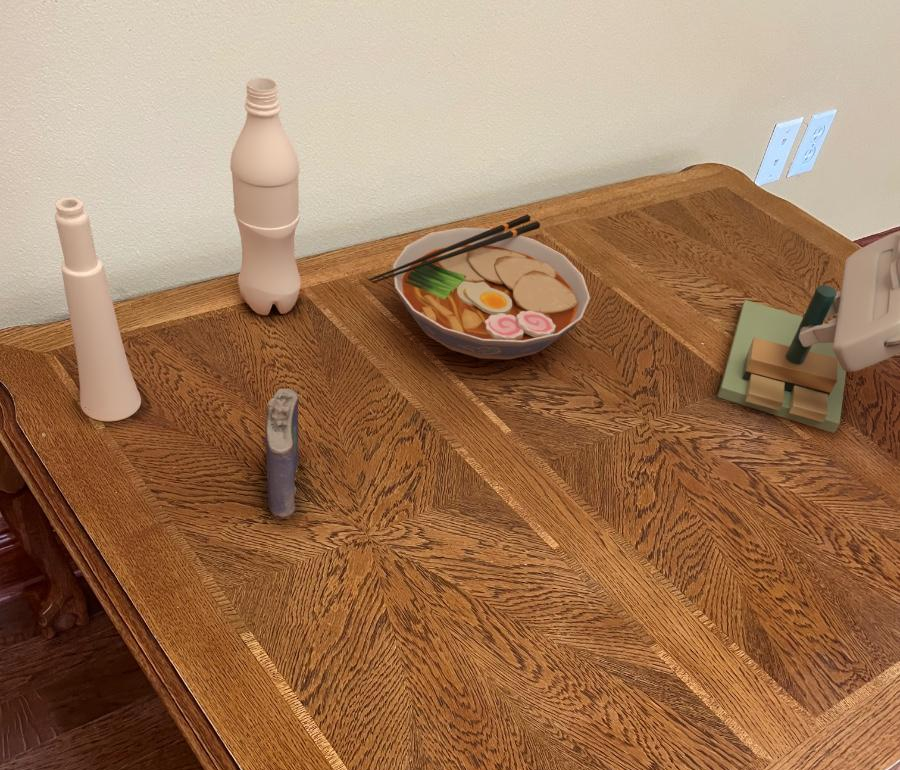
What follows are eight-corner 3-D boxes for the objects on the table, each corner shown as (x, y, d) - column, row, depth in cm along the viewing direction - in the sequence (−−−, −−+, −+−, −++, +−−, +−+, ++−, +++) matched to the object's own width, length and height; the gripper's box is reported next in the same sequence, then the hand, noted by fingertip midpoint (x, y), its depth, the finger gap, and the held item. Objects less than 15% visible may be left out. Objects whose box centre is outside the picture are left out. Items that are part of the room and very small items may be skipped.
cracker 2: (790, 393, 110) (794, 384, 109) (823, 402, 110) (828, 393, 109) (788, 413, 108) (792, 405, 107) (823, 422, 107) (827, 414, 107)
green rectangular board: (740, 309, 123) (744, 299, 122) (846, 340, 121) (851, 330, 120) (717, 397, 111) (721, 387, 110) (834, 433, 109) (839, 423, 108)
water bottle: (310, 296, 114) (310, 79, 94) (284, 328, 109) (279, 107, 90) (256, 279, 115) (245, 61, 95) (228, 310, 110) (211, 88, 91)
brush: (827, 379, 112) (872, 291, 103) (826, 401, 110) (872, 312, 100) (745, 358, 113) (782, 269, 104) (742, 379, 111) (780, 290, 101)
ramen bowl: (462, 425, 102) (472, 363, 96) (342, 315, 112) (344, 253, 106) (620, 354, 114) (639, 295, 107) (499, 260, 124) (509, 201, 117)
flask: (294, 521, 91) (292, 437, 82) (263, 520, 90) (258, 435, 82) (300, 456, 96) (299, 371, 88) (271, 454, 96) (267, 369, 88)
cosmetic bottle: (153, 402, 99) (120, 204, 82) (108, 430, 95) (64, 230, 78) (113, 377, 101) (73, 177, 84) (68, 403, 97) (16, 201, 80)
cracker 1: (747, 381, 111) (751, 373, 110) (781, 390, 110) (785, 382, 109) (745, 401, 108) (748, 393, 107) (779, 410, 108) (783, 402, 107)
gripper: (943, 357, 93) (805, 404, 101) (944, 256, 105) (821, 306, 114) (921, 304, 90) (780, 358, 98) (925, 208, 102) (800, 263, 111)
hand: (802, 329), depth 106 cm, fingers closed on brush, 2 cm apart
